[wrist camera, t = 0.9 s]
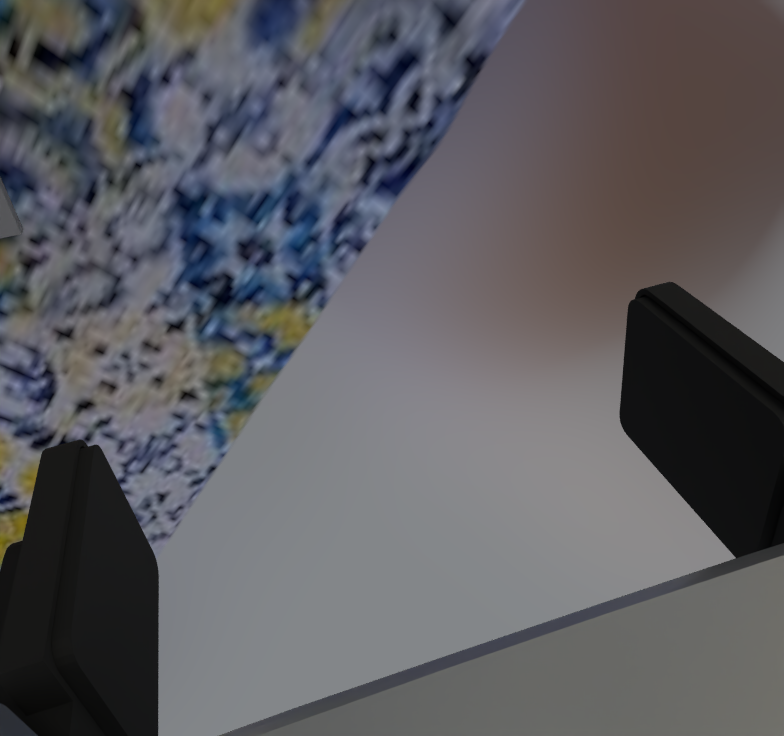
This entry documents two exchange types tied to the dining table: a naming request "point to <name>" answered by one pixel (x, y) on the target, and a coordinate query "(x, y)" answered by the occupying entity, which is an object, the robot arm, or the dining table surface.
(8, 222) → the mat
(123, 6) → the dining table surface
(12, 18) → the dining table surface
